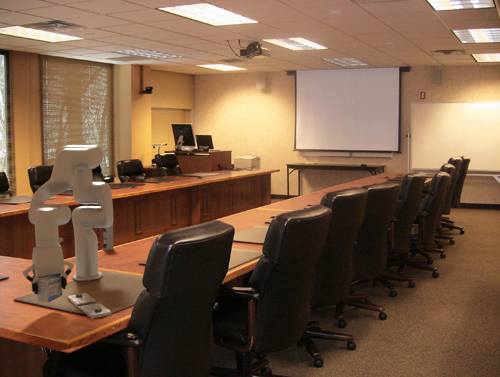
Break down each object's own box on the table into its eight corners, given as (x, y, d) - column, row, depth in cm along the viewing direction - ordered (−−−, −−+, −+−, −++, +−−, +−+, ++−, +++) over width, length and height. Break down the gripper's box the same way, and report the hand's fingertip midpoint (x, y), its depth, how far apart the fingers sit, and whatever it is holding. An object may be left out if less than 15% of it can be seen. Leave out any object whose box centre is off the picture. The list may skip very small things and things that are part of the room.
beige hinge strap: (67, 299, 197) (67, 294, 197) (85, 295, 201) (85, 291, 201) (91, 319, 175) (91, 313, 175) (111, 314, 179) (111, 309, 179)
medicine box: (48, 302, 178) (46, 278, 177) (37, 301, 180) (36, 277, 179) (62, 295, 186) (61, 272, 185) (52, 294, 187) (51, 271, 186)
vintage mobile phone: (102, 249, 284) (100, 204, 282) (110, 248, 288) (108, 204, 285) (105, 251, 282) (104, 205, 279) (113, 249, 285) (112, 204, 283)
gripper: (69, 238, 188) (71, 283, 190) (18, 244, 178) (21, 292, 180) (75, 241, 182) (77, 288, 184) (23, 248, 172) (26, 298, 174)
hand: (49, 290), depth 182 cm, fingers closed on medicine box, 9 cm apart
